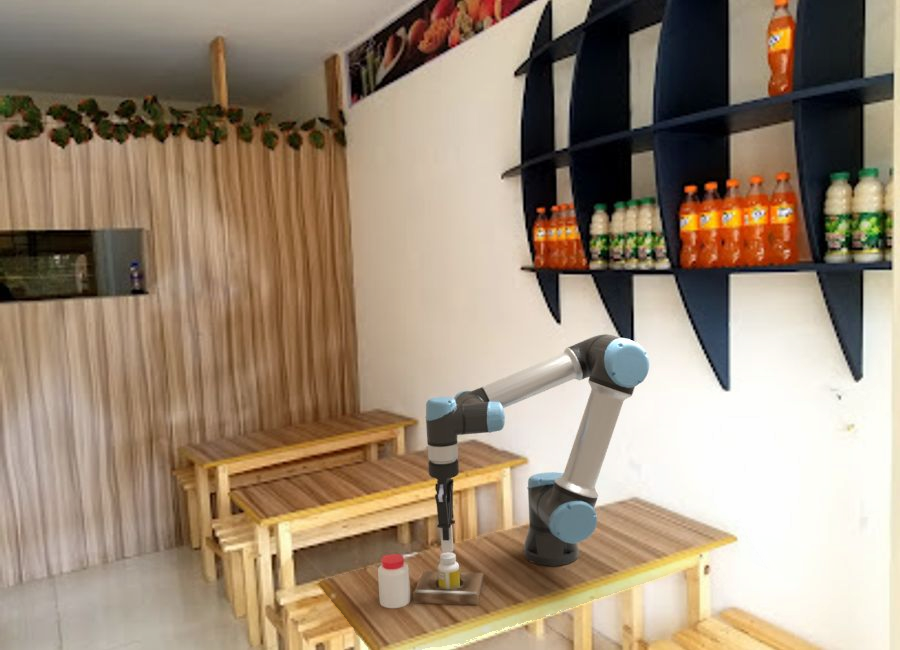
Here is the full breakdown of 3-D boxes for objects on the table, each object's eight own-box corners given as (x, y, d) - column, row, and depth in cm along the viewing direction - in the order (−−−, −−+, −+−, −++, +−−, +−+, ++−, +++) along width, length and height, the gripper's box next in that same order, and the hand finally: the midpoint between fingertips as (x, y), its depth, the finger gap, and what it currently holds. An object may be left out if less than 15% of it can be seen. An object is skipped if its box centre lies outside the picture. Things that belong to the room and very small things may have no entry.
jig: (483, 582, 185) (483, 571, 185) (477, 605, 173) (477, 594, 173) (423, 580, 188) (423, 570, 187) (413, 602, 176) (413, 591, 176)
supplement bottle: (462, 587, 183) (460, 551, 182) (458, 598, 177) (456, 560, 176) (441, 586, 184) (439, 550, 183) (437, 597, 178) (435, 559, 177)
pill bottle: (385, 611, 172) (382, 568, 171) (375, 597, 179) (373, 556, 178) (415, 603, 175) (412, 561, 174) (404, 590, 183) (402, 549, 181)
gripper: (433, 452, 184) (437, 539, 186) (423, 467, 171) (427, 561, 174) (461, 452, 183) (465, 540, 185) (453, 467, 170) (458, 562, 172)
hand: (447, 550), depth 179 cm, fingers closed
